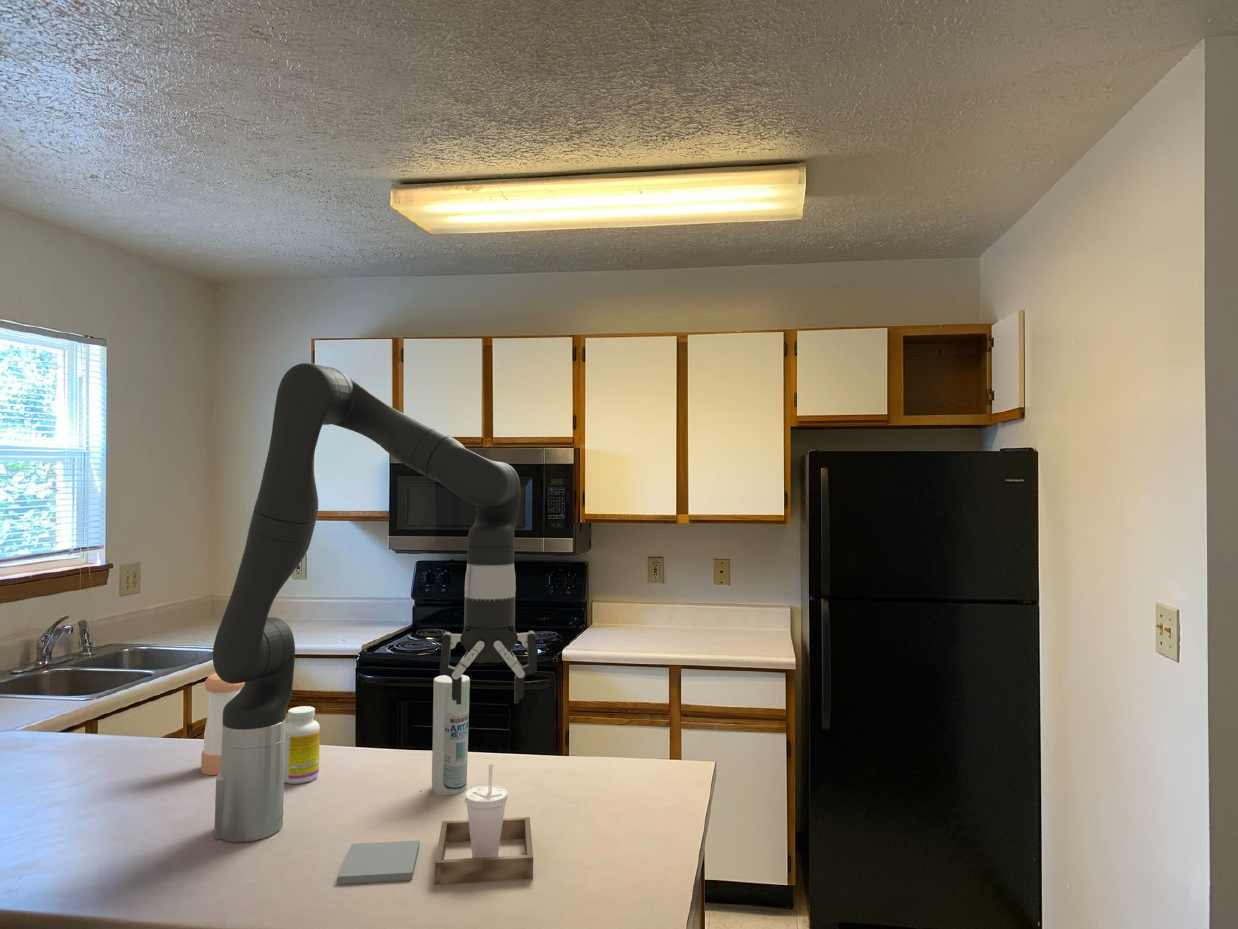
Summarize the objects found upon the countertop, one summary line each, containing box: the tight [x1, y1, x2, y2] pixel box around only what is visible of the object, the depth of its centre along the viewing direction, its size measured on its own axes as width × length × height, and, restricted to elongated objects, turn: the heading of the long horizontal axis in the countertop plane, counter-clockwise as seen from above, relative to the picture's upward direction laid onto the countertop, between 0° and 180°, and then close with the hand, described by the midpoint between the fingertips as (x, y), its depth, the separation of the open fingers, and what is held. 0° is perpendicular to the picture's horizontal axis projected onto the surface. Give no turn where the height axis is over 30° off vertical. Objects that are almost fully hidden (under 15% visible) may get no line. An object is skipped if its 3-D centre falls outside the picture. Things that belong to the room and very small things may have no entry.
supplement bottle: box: [284, 705, 321, 785], centre depth 146 cm, size 7×7×13 cm
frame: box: [434, 816, 534, 886], centre depth 115 cm, size 14×14×3 cm
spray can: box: [431, 674, 471, 796], centre depth 142 cm, size 6×6×20 cm
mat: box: [337, 839, 421, 885], centre depth 113 cm, size 10×10×1 cm
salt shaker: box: [200, 672, 245, 776], centre depth 151 cm, size 7×7×19 cm
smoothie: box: [464, 763, 509, 858], centre depth 116 cm, size 6×6×14 cm
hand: (488, 702), depth 116 cm, fingers open, 8 cm apart
